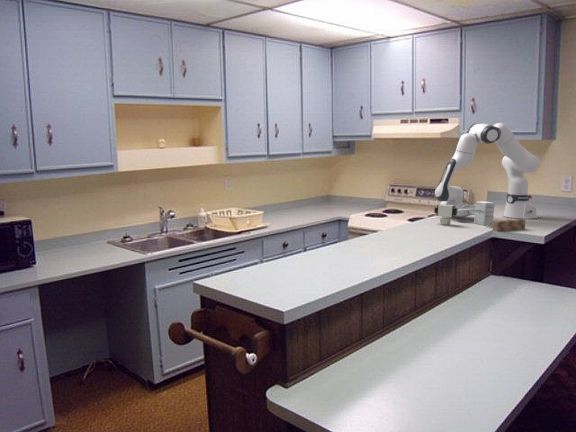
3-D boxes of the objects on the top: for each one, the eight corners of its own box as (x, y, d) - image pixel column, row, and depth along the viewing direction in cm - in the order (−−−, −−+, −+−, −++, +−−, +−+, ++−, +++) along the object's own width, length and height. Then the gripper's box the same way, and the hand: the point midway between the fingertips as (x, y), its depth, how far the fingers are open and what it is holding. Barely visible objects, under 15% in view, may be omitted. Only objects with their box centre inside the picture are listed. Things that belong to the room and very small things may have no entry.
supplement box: (473, 223, 292) (475, 201, 290) (482, 222, 295) (484, 200, 293) (483, 225, 285) (485, 203, 283) (493, 224, 289) (495, 202, 287)
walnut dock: (507, 225, 287) (508, 216, 286) (524, 229, 276) (525, 219, 276) (480, 227, 279) (480, 218, 278) (496, 231, 268) (497, 221, 268)
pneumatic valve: (454, 226, 281) (456, 204, 280) (433, 223, 287) (434, 202, 285) (457, 224, 286) (458, 203, 284) (436, 222, 292) (437, 201, 290)
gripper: (447, 205, 301) (464, 208, 289) (474, 204, 309) (492, 207, 297) (447, 216, 302) (463, 219, 290) (474, 214, 310) (491, 217, 298)
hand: (478, 213), depth 293 cm, fingers closed
